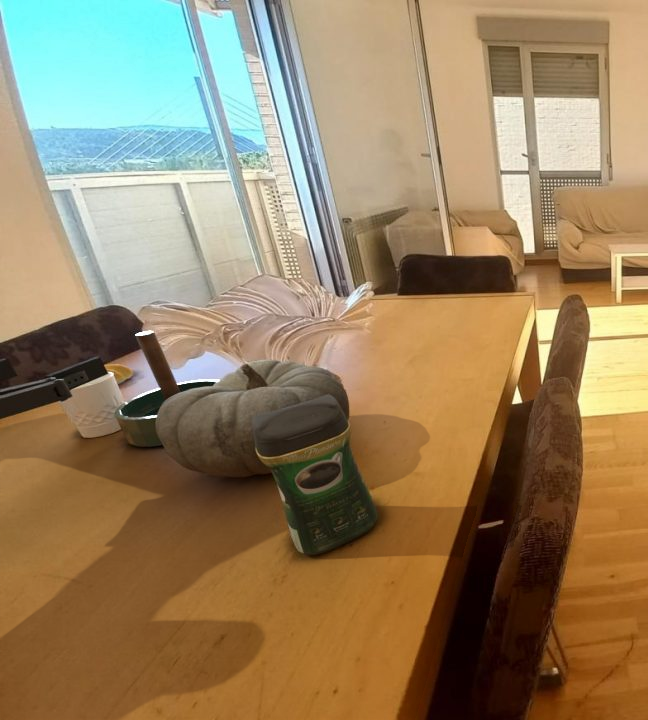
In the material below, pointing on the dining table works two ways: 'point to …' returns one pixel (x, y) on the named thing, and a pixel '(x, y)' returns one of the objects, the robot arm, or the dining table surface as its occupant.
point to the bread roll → (119, 372)
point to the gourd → (237, 414)
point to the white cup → (94, 407)
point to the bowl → (148, 414)
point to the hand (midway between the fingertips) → (56, 366)
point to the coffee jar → (315, 473)
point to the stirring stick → (158, 363)
